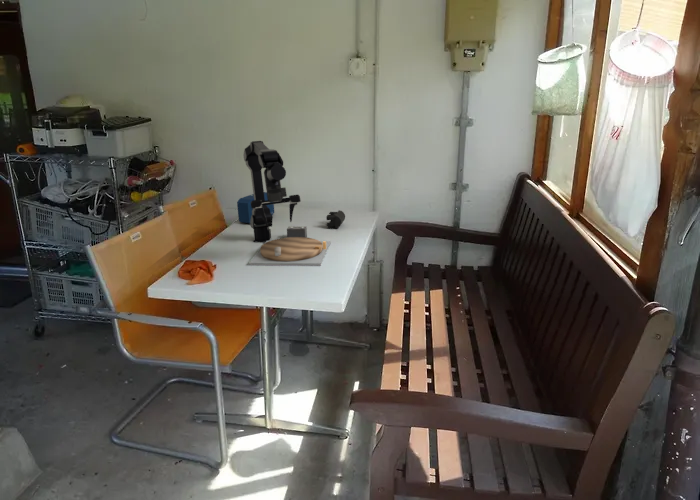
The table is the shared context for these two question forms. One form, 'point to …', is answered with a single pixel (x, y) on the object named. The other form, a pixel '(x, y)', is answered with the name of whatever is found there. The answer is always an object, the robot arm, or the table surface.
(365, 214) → the table surface
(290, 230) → the steel link block
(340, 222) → the end cap
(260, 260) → the base plate
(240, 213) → the radio
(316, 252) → the round wooden board
